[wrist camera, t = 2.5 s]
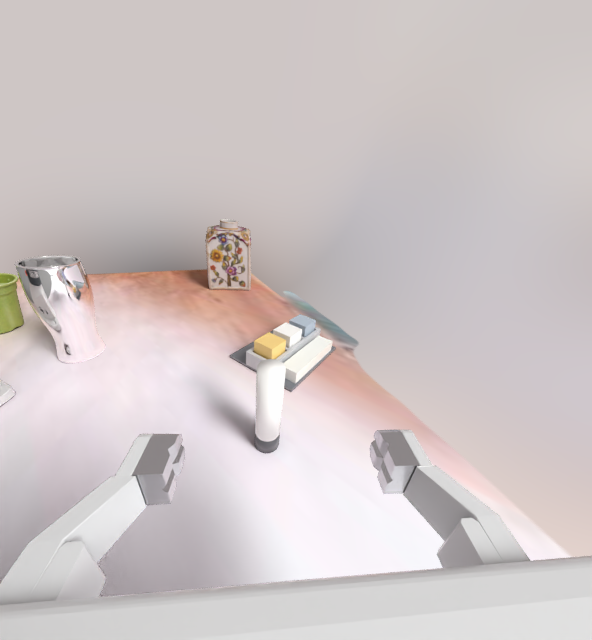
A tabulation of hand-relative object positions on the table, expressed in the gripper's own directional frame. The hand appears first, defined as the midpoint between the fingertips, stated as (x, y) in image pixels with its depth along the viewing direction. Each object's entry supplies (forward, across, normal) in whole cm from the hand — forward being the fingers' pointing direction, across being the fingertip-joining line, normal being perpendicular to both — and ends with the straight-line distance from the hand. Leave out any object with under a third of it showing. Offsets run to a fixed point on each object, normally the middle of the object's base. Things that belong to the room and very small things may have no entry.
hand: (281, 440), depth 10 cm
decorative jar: (+66, +12, +16) cm, 69 cm away
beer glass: (+29, +31, +16) cm, 45 cm away
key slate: (+34, -6, +15) cm, 38 cm away
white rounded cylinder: (+12, 0, +17) cm, 21 cm away
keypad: (+30, -3, +17) cm, 35 cm away
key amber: (+27, 0, +15) cm, 30 cm away
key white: (+30, -3, +15) cm, 34 cm away
